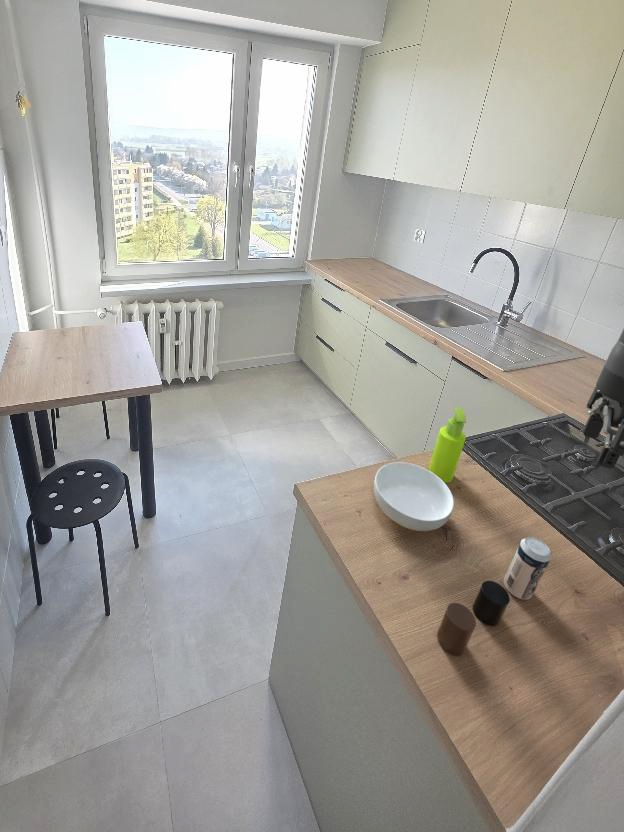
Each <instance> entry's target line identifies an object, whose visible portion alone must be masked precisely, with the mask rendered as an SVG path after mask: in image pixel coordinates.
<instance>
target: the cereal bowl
mask: <svg viewBox="0 0 624 832" xmlns="http://www.w3.org/2000/svg"><path fill="white" fill-rule="evenodd" d="M373 492H374V493H373V494H374V497H375V500H376V503H377V504H378V506H379V508H380V510H381V511H382V512H383V513H384V514H385V515H386V516H387V517H388V518H389V519H390V520H392V522H394V523H395V524H398V525H399V526H401V527H403V528H406V529H408V530H411V531H417V532H431V531H434V530H437V529H440V528H442V527H443V526H444V525H445V524H446V523H447V522H448V521H449V520H450V517H451V516H452V513H453V510H454V506H455V500H454V496H453V494H452V492H451V490H450V488H449V486H448V485H447V484H446V482H443V481H442V480H441V479H440V478H439V477H438V476H436V475H435V474H434V473H432V472H431V471H429V470H428V469H427V468H425V467H422V466H421V465H418V464H414V463H410V462H404V461H395V462H390V463H386V464H384V465H382V466H381V467H380V468H378V470H377V472H376V473H375V477H374V481H373Z"/></svg>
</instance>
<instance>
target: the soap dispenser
mask: <svg viewBox="0 0 624 832" xmlns="http://www.w3.org/2000/svg"><path fill="white" fill-rule="evenodd" d="M453 411H454V415H453V417H450V418H449V419H448V422H447V424H446V425H444V426H442V427H440V429H439V431H438V434H437V439H436V442H435V445H434V449H433V452H432V456H431V459H430V463H429V467H428V469H427V470H429V471H431V472H432V473H434V474H435V475H436V476H438V477H439V478H440V479H441V480H442V481H443V482H444V483H451V482H452V481H453V479H454V477H455V473H456V470H457V467H458V464H459V460H460V458H461V454H462V452H463V448H464V445H465V442H466V438H467V436H466V434H465V433H464V432H463V429H464V426H465V424H466V423H467V419H466V414H465V410H464V408H461V407H454V409H453Z"/></svg>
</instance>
